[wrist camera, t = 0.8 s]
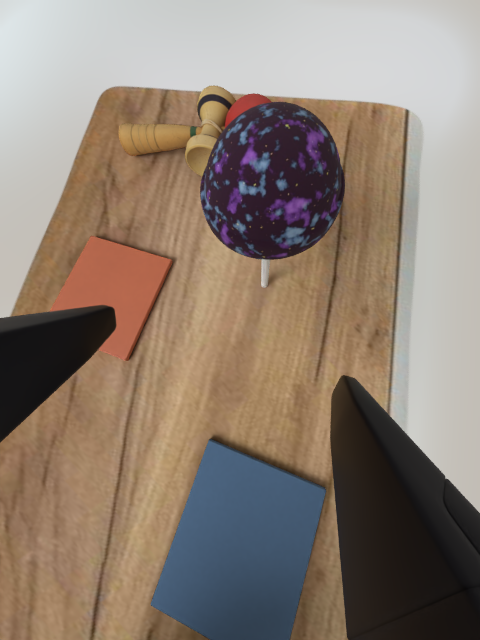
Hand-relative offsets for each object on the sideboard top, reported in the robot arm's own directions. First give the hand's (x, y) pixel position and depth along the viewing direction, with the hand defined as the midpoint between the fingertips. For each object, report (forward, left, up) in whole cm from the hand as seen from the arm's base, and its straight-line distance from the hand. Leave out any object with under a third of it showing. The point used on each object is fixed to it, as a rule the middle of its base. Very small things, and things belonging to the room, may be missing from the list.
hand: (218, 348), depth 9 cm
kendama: (+21, +13, -13) cm, 28 cm away
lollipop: (+8, +1, -13) cm, 15 cm away
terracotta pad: (+2, +16, -13) cm, 20 cm away
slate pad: (-13, -4, -13) cm, 19 cm away
